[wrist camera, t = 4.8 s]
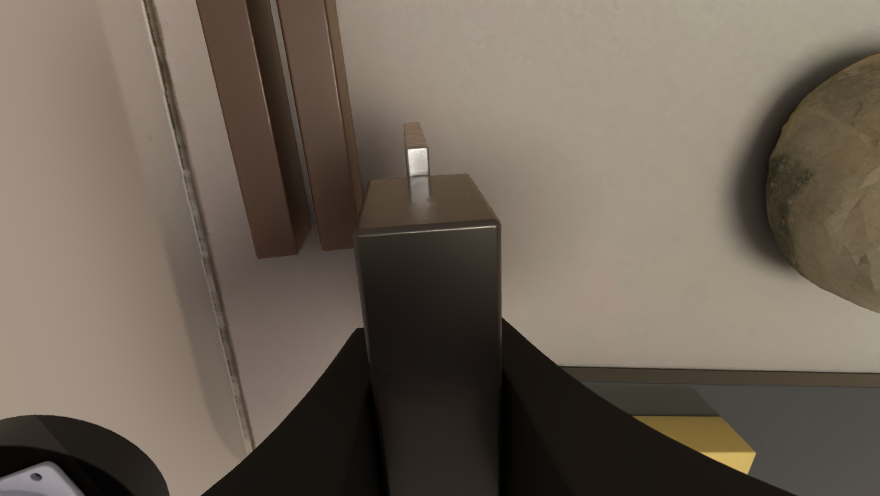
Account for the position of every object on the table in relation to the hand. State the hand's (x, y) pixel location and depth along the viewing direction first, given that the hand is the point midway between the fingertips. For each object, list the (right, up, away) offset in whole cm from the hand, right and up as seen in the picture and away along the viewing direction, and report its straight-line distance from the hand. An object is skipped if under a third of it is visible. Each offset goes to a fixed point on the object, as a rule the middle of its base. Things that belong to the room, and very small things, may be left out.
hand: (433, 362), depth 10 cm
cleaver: (0, +1, +4) cm, 4 cm away
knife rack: (-5, +8, +7) cm, 12 cm away
